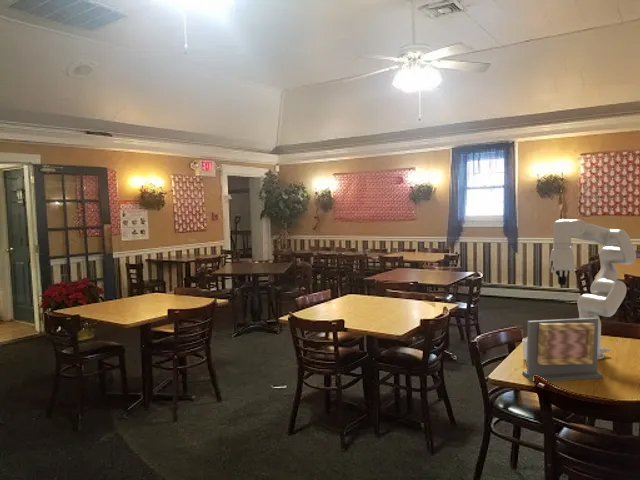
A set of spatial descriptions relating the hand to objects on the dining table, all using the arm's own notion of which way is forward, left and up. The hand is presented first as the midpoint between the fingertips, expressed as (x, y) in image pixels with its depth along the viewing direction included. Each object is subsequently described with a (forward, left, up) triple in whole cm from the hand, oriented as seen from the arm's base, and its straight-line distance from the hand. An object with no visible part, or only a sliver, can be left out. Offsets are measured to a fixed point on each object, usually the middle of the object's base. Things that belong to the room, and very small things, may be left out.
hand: (561, 284), depth 236 cm
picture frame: (+10, +19, -32) cm, 38 cm away
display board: (+9, +16, -39) cm, 43 cm away
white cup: (+11, -8, -39) cm, 41 cm away
